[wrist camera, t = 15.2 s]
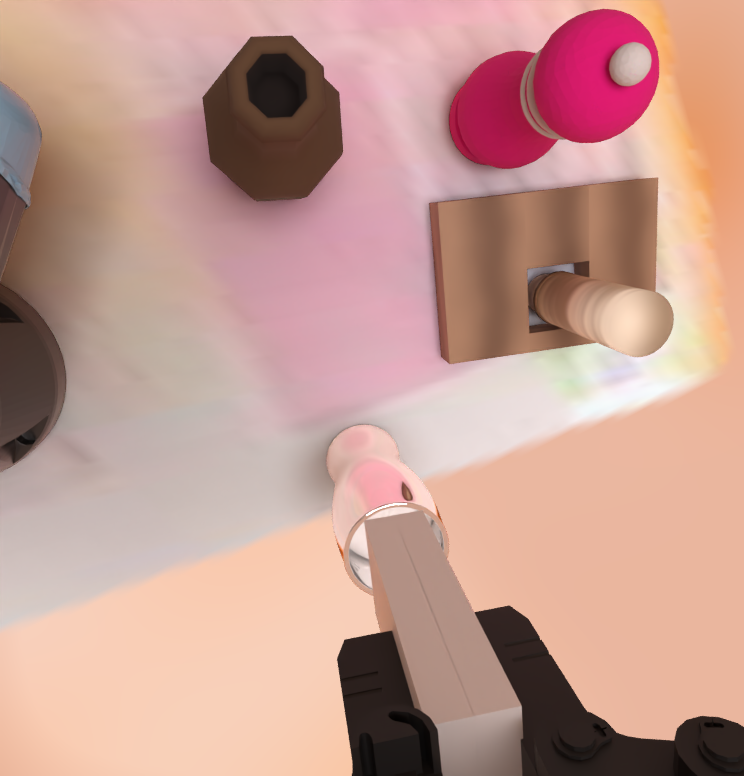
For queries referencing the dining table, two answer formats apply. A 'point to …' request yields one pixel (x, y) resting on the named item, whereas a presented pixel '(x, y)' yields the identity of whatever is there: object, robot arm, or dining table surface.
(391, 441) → the beer glass
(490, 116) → the pepper mill
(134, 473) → the dining table surface
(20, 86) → the dining table surface
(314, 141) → the beer bottle
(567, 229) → the board
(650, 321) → the peg
